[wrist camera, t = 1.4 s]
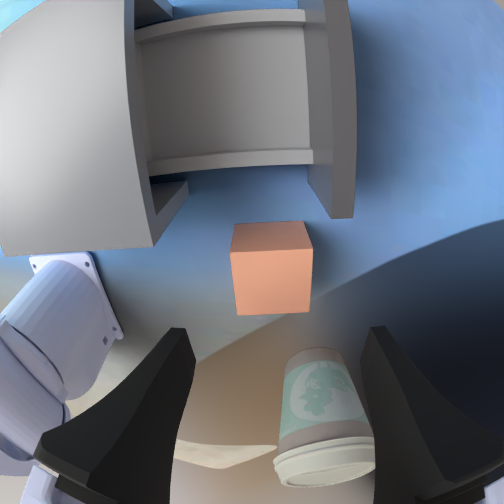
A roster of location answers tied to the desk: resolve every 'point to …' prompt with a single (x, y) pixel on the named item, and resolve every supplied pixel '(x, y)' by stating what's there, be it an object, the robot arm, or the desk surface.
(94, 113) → the player housing
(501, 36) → the desk surface
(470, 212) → the desk surface
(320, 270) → the desk surface
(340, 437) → the coffee cup
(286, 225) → the terracotta block
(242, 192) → the desk surface
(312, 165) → the tray
